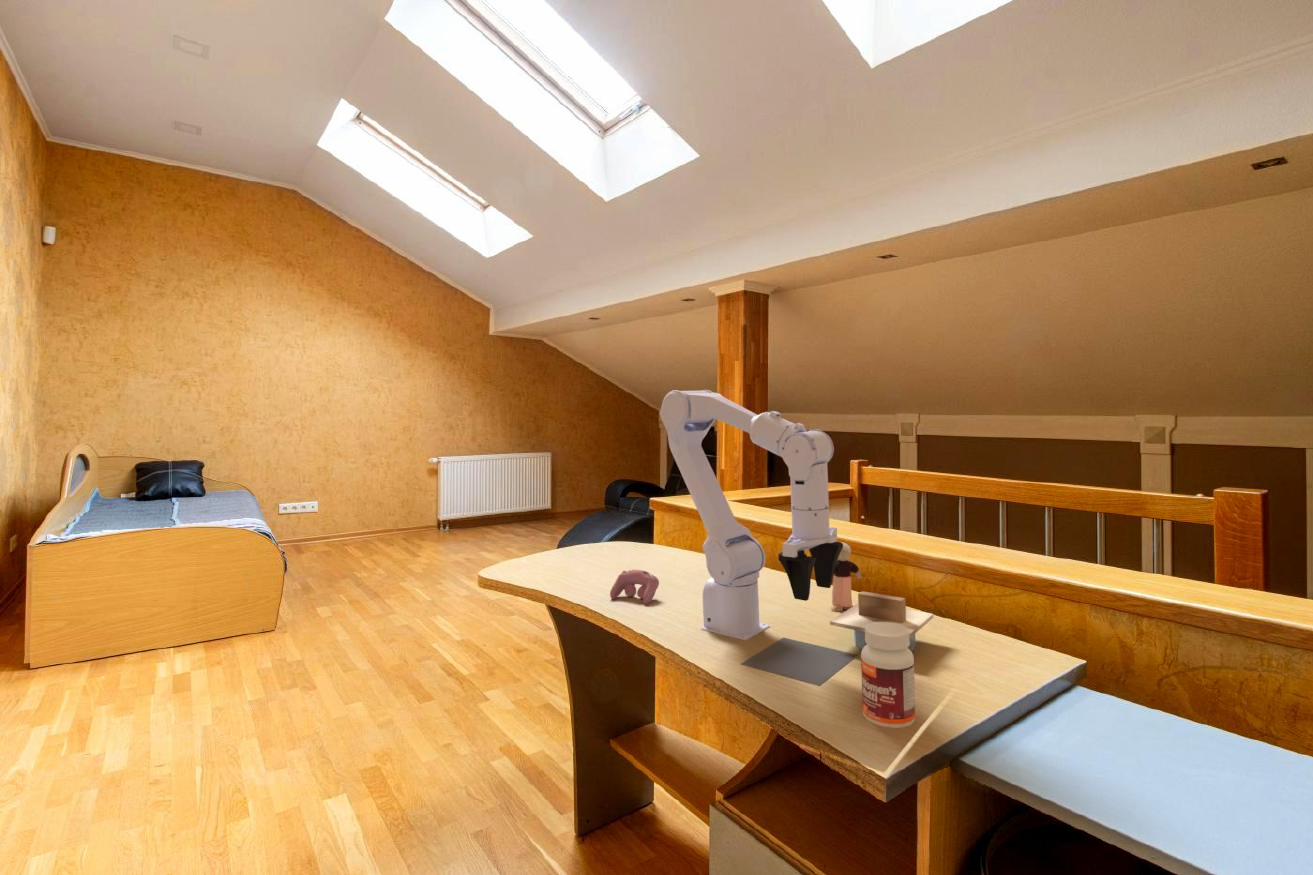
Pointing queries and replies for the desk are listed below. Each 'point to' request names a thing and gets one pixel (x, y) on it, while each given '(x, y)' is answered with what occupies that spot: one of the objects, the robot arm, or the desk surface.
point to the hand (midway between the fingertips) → (812, 592)
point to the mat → (800, 661)
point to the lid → (881, 613)
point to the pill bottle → (888, 675)
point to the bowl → (860, 643)
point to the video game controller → (628, 584)
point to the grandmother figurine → (843, 580)
